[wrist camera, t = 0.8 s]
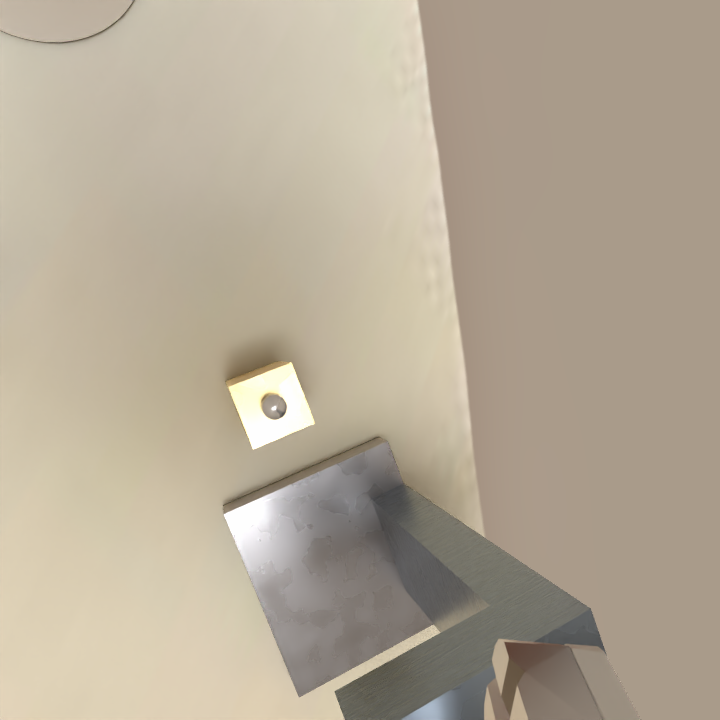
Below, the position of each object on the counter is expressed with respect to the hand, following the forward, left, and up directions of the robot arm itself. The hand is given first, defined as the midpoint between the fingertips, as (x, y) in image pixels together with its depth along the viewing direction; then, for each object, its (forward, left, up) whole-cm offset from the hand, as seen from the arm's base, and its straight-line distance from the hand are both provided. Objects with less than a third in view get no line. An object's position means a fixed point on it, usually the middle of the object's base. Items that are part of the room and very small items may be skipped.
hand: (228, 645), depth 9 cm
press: (+16, +5, -37) cm, 41 cm away
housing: (+1, +4, -37) cm, 38 cm away
